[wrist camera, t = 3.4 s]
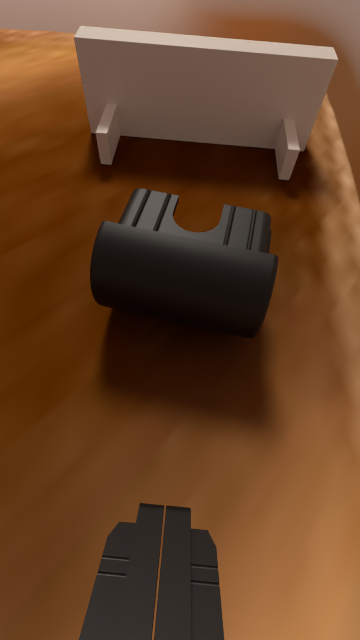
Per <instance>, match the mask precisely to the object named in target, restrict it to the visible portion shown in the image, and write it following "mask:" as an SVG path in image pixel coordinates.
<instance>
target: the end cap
mask: <svg viewBox="0 0 360 640" xmlns="http://www.w3.org/2000/svg"><path fill="white" fill-rule="evenodd" d="M178 199H179V196H178V195H172V194H169V193H162V192H156V191H151V190H146V189H135V190H134V191H133V193H132V195H131V197H130V199H129V202H128V204H127V206H126V208H125V210H124V212H123V214H122V216H121V218H120V220H119V223H113V222H108V221H103V222H102V223H101V225H100V228H99V230H98V233H97V236H96V239H95V243H94V247H93V252H92V258H91V267H90V282H91V290H92V294H93V297H94V299H95V301H96V302H97V303H98V304H99V305H102V306H105V307H110V308H114V309H119V310H123V311H128V312H133V313H137V314H142V315H146V316H151V317H155V318H160V319H164V320H169V321H173V322H178V323H182V324H187V325H191V326H196V327H200V328H205V329H209V330H214V331H218V332H223V333H227V334H232V335H236V336H241V337H245V338H254V337H255V336H256V335H257V334H258V332H259V330H260V328H261V326H262V324H263V321H264V318H265V315H266V312H267V309H268V306H269V302H270V299H271V295H272V291H273V287H274V282H275V277H276V272H277V265H278V257H277V256H276V255H273V254H269V249H270V241H271V230H270V224H271V217H270V215H269V214H267V213H265V212H262V211H257V210H251V209H246V208H241V207H236V206H230V205H225V204H224V208H223V212H222V216H221V220H220V223H219V224H218V226H217V227H215V228H214V229H212V230H210V231H207V232H203V233H194V232H189V231H186V230H184V229H182V228H180V227H179V226H178V225H177V224H176V223H175V221H174V219H173V215H174V213H175V210H176V207H177V204H178Z"/></svg>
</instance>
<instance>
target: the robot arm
mask: <svg viewBox="0 0 360 640" xmlns="http://www.w3.org/2000/svg"><path fill="white" fill-rule="evenodd" d="M163 513H164V505H154V504H144V503H140V506H139V510H138V516H137V521H136V523H127V522H119V523H118V524H117V525H116V527H115V528H114V529H113V530H112V532H111V533H110V534H109V536H108V537H107V541H106V544H105V548H104V552H103V555H102V559H101V562H100V566H99V570H98V575H97V577H96V580H95V584H94V587H93V591H92V595H91V598H90V602H89V605H88V609H87V613H86V616H85V620H84V623H83V627H82V631H81V634H80V638H79V640H152V629H153V619H154V609H155V598H156V588H157V578H158V567H159V557H160V546H161V535H162V524H163ZM154 640H224V632H223V620H222V609H221V597H220V587H219V574H218V562H217V550H216V546H215V544H214V542H213V540H212V538H211V536H210V534H209V532H208V530H200V529H191V509H190V508H186V507H176V506H166V515H165V526H164V537H163V547H162V558H161V569H160V580H159V591H158V602H157V614H156V625H155V636H154Z"/></svg>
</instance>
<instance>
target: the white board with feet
mask: <svg viewBox="0 0 360 640" xmlns="http://www.w3.org/2000/svg"><path fill="white" fill-rule="evenodd" d="M74 40H75V45H76V51H77V57H78V62H79V68H80V73H81V79H82V84H83V90H84V95H85V101H86V106H87V112H88V117H89V123H90V129H91V133H96V138H97V144H98V150H99V156H100V162H101V164H108V165H111V164H112V161H113V158H114V154H115V151H116V148H117V144H118V141H119V138H120V136H132V137H143V138H155V139H166V140H178V141H189V142H201V143H213V144H224V145H236V146H247V147H259V148H270V149H275V154H276V163H277V171H278V179H281V180H289V179H290V176H291V173H292V171H293V168H294V165H295V162H296V160H297V157H298V154H299V151H304V150H305V147H306V144H307V142H308V139H309V136H310V134H311V131H312V128H313V126H314V123H315V120H316V118H317V115H318V112H319V110H320V107H321V104H322V102H323V99H324V96H325V94H326V91H327V88H328V86H329V83H330V80H331V77H332V75H333V72H334V70H335V66H336V64H337V62H338V58H337V55H336V53H335V50H334V48H333V47H321V46H309V45H298V44H286V43H274V42H262V41H251V40H239V39H228V38H216V37H205V36H192V35H180V34H170V33H157V32H146V31H135V30H123V29H110V28H99V27H88V26H80V28H79V30H78V31H77V33H76V35H75V36H74Z"/></svg>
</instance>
